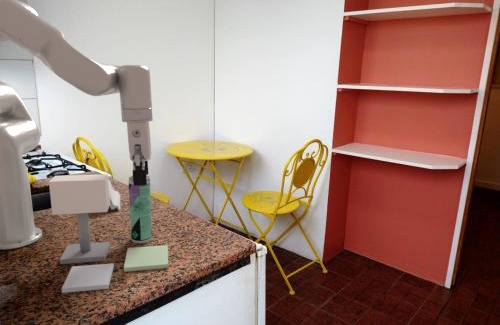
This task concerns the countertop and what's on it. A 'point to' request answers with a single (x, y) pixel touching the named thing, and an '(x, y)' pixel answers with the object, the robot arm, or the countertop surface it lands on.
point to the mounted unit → (81, 212)
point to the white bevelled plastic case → (114, 198)
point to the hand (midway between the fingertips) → (141, 179)
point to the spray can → (140, 211)
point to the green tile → (146, 258)
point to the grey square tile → (88, 278)
